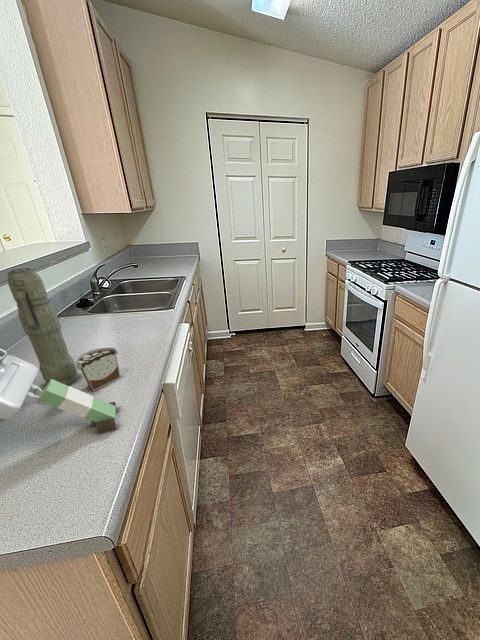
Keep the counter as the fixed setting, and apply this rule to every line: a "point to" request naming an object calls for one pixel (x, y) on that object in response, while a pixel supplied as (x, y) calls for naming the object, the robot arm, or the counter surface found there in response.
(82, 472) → the counter surface
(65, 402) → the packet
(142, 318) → the counter surface
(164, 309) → the counter surface
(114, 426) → the stand
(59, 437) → the counter surface
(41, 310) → the moai statue
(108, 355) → the cake slice
